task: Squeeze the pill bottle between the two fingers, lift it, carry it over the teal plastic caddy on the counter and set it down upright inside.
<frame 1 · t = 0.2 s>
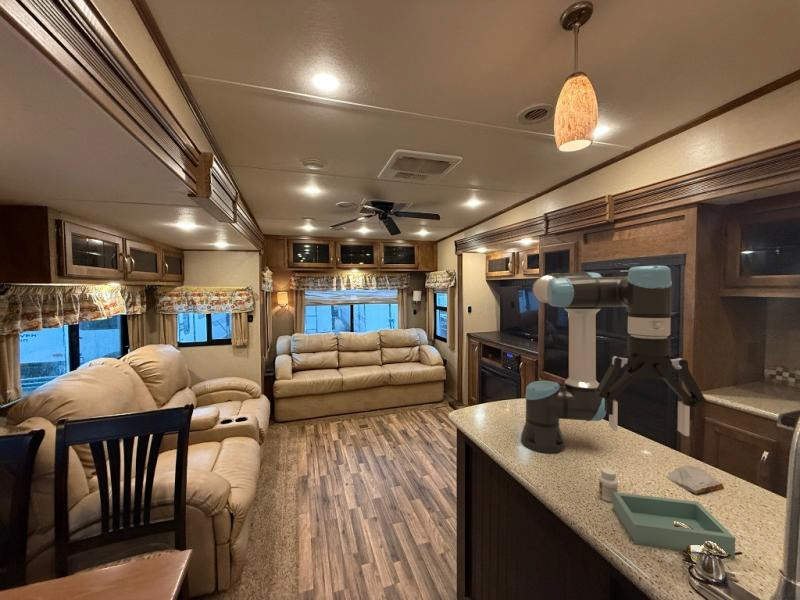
hand: (647, 430, 72), 27 cm above the countertop, fingers open, 13 cm apart
pill bottle: (608, 498, 92), on the countertop
stone: (691, 484, 98), on the countertop
caddy: (667, 531, 79), on the countertop
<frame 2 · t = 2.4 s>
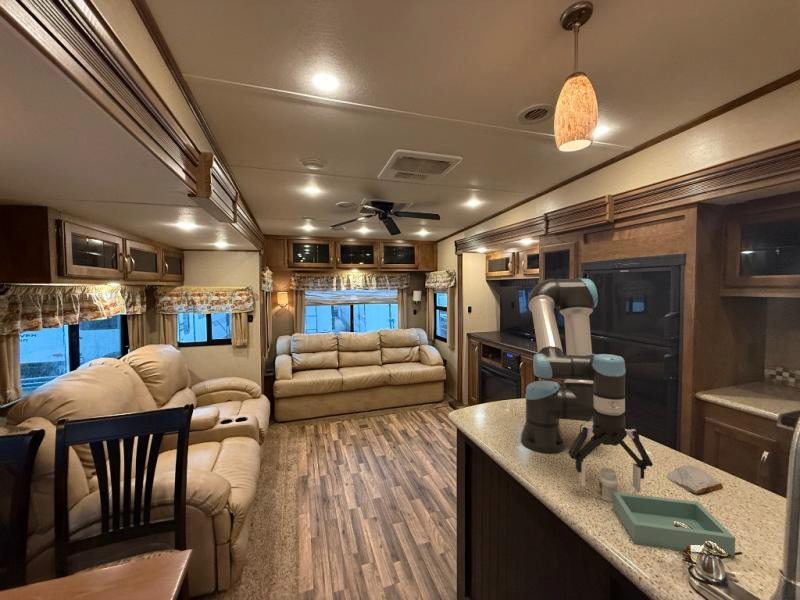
hand: (608, 486, 91), 4 cm above the countertop, fingers open, 13 cm apart
nothing on the countertop moved.
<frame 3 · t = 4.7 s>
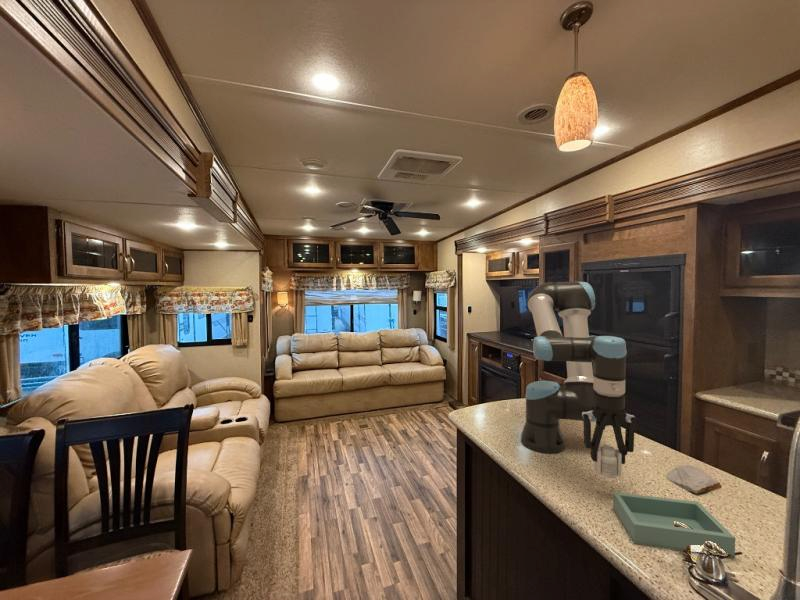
hand: (607, 472, 92), 7 cm above the countertop, fingers closed on pill bottle, 4 cm apart
pill bottle: (607, 474, 92), point 6 cm above the countertop, touching gripper
everything else where it was.
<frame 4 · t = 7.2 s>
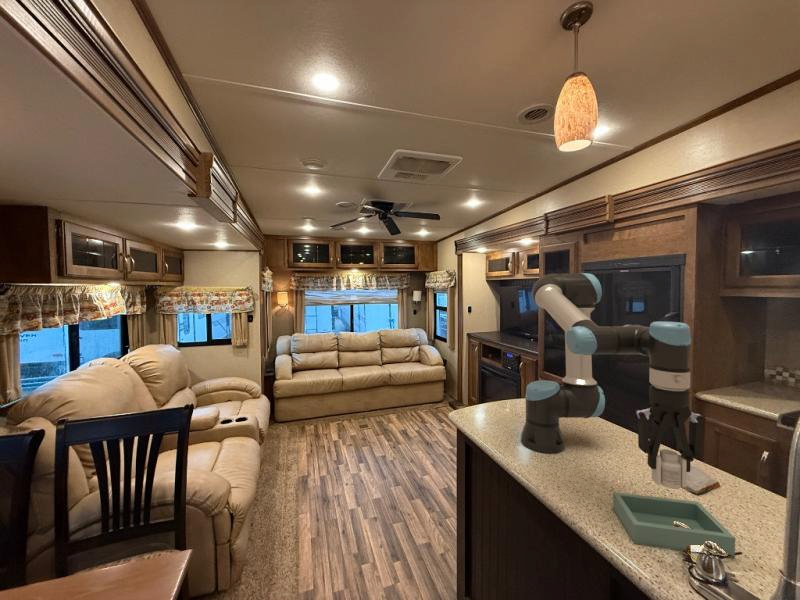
hand: (668, 482, 78), 12 cm above the countertop, fingers closed on pill bottle, 4 cm apart
pill bottle: (668, 484, 78), point 12 cm above the countertop, touching gripper
everything else where it was.
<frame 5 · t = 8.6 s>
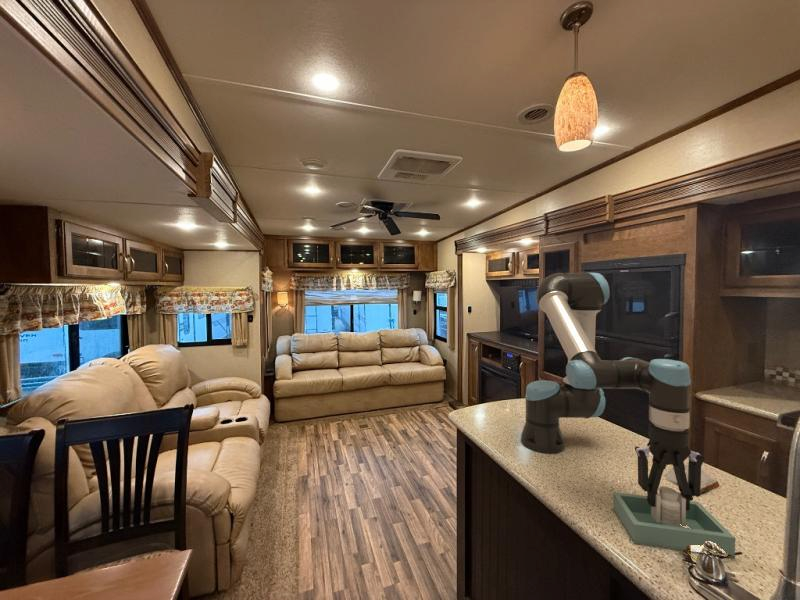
hand: (667, 520, 79), 3 cm above the countertop, fingers closed on pill bottle, 4 cm apart
pill bottle: (668, 522, 79), point 2 cm above the countertop, touching gripper
everything else where it was.
when the fingers open (1 cm above the countertop, at t = 9.6 s): pill bottle stays where it is, resting on caddy.
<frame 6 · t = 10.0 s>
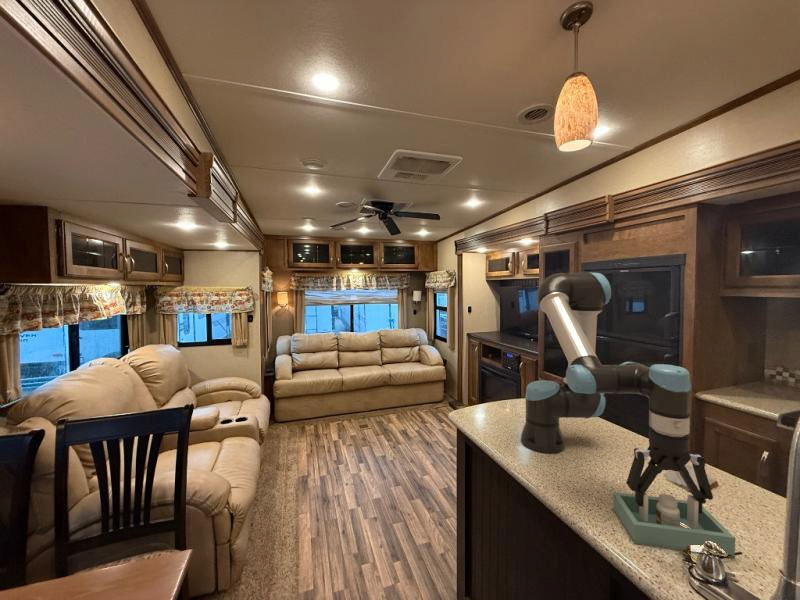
hand: (667, 521, 79), 2 cm above the countertop, fingers open, 9 cm apart
pill bottle: (667, 529, 79), resting on caddy
everything else where it was.
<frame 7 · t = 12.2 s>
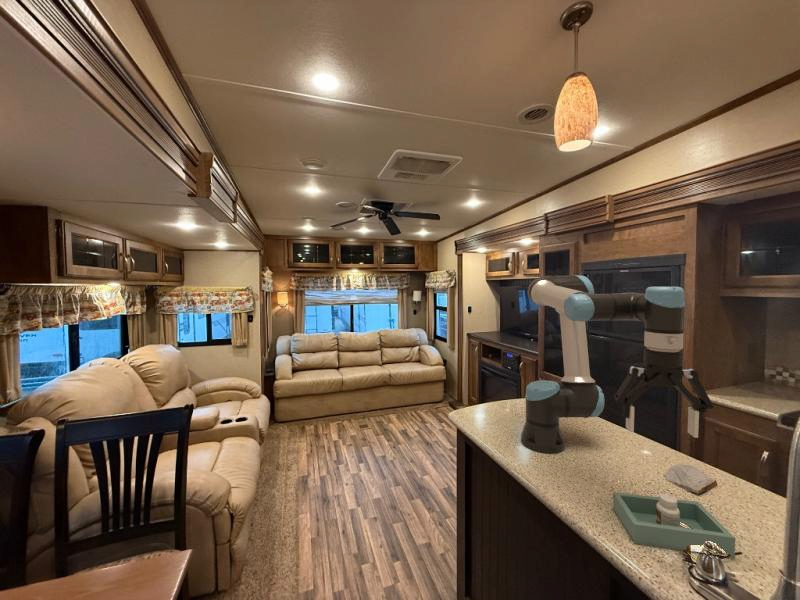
hand: (660, 432, 82), 23 cm above the countertop, fingers open, 13 cm apart
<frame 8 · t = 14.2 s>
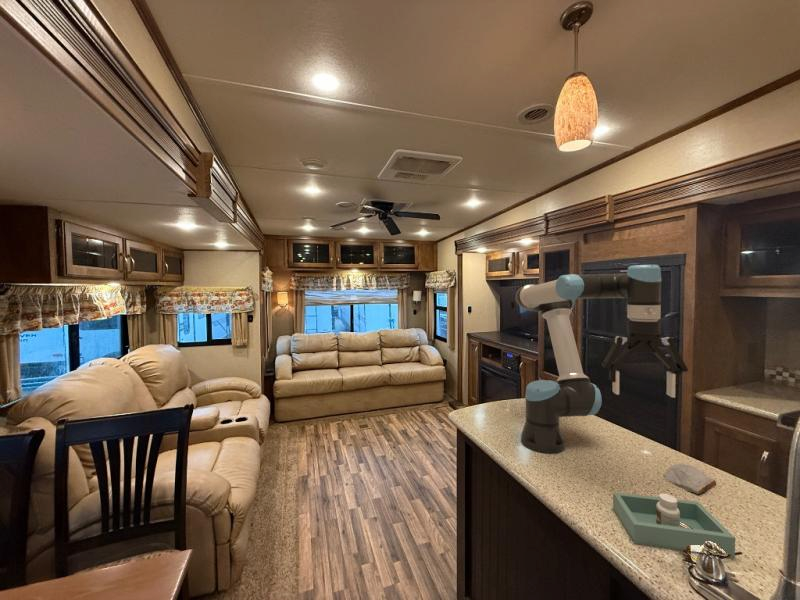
hand: (642, 394, 92), 29 cm above the countertop, fingers open, 13 cm apart
at the end: pill bottle inside the target area on the caddy (0.1 cm from its centre), point 0.4 cm above the caddy's base; pill bottle tilted 0°; the gripper is holding nothing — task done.
